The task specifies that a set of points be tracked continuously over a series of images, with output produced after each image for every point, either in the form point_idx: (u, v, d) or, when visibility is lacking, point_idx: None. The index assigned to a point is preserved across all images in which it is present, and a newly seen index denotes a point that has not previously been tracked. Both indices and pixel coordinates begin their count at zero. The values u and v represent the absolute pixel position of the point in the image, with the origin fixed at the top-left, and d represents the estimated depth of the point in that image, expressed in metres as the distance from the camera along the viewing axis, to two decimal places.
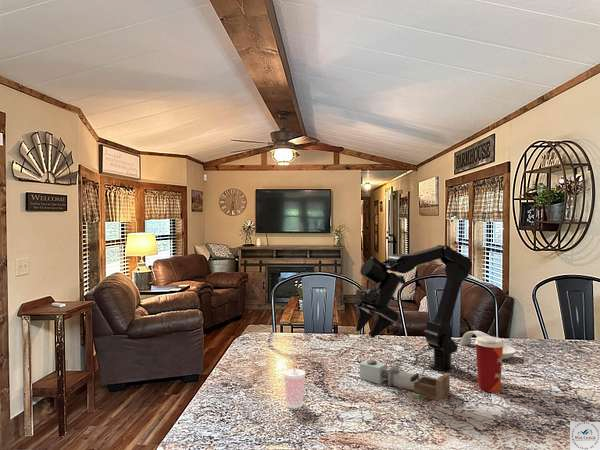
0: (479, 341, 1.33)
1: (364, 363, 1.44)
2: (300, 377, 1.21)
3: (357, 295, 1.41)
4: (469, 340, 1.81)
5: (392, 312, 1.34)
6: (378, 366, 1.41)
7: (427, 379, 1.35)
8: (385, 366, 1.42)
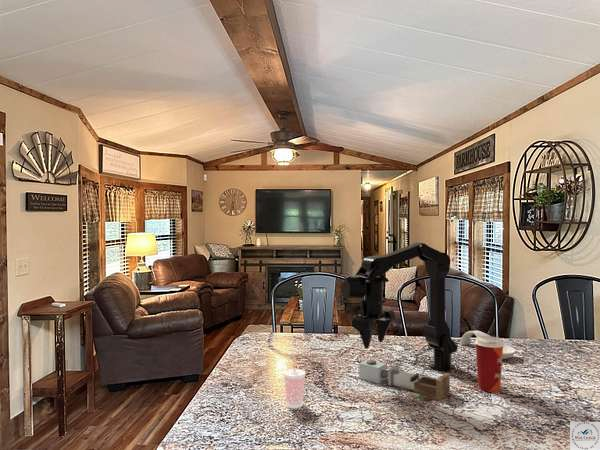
0: (479, 341, 1.33)
1: (363, 363, 1.44)
2: (300, 377, 1.21)
3: None
4: (469, 340, 1.81)
5: (358, 321, 1.36)
6: (377, 366, 1.41)
7: (427, 379, 1.35)
8: (384, 366, 1.42)
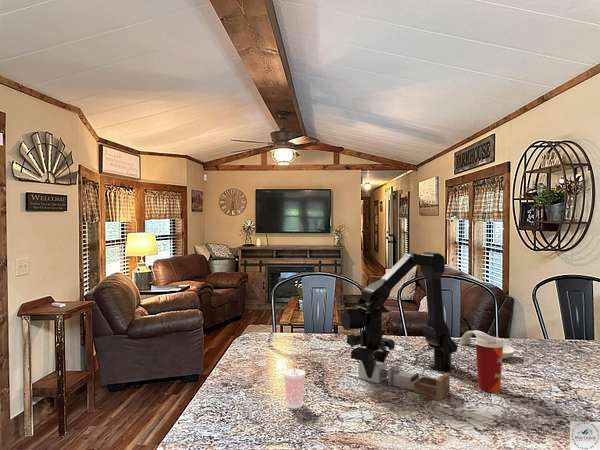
0: (479, 341, 1.33)
1: None
2: (300, 377, 1.21)
3: None
4: (469, 340, 1.81)
5: (358, 353, 1.36)
6: (377, 365, 1.41)
7: (427, 379, 1.35)
8: (384, 365, 1.43)
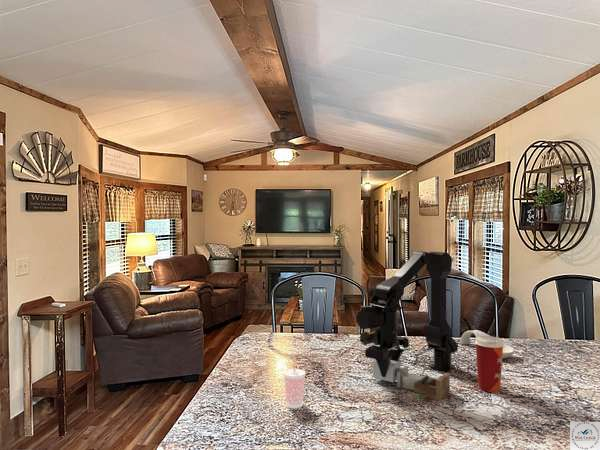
0: (479, 341, 1.33)
1: None
2: (300, 377, 1.21)
3: None
4: (468, 339, 1.82)
5: (372, 352, 1.33)
6: (392, 364, 1.38)
7: None
8: (399, 364, 1.40)
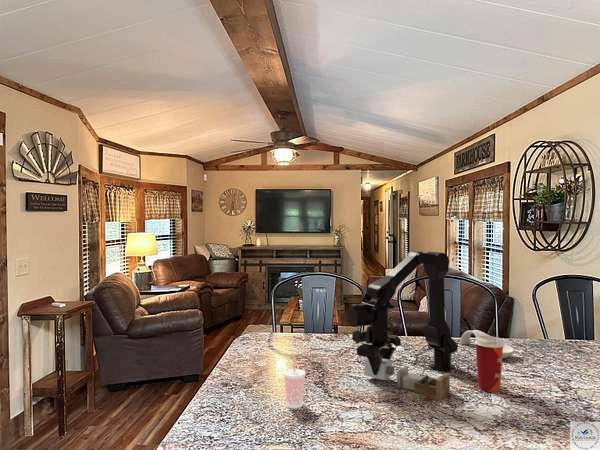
0: (479, 341, 1.33)
1: None
2: (300, 377, 1.21)
3: None
4: (468, 339, 1.82)
5: (364, 350, 1.35)
6: (383, 362, 1.39)
7: None
8: (390, 362, 1.41)
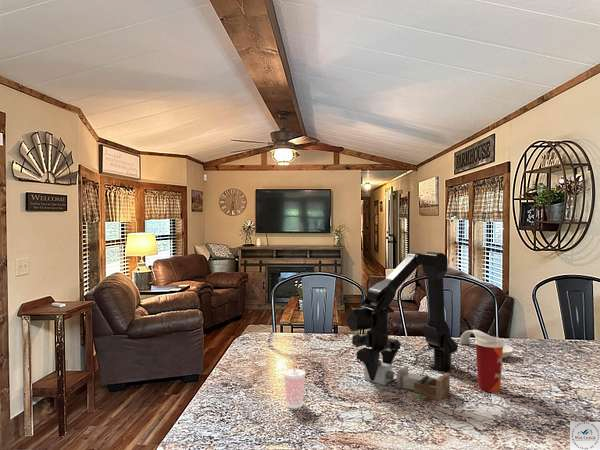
0: (479, 341, 1.33)
1: None
2: (300, 377, 1.21)
3: None
4: (468, 339, 1.82)
5: (363, 354, 1.35)
6: (383, 367, 1.40)
7: None
8: (390, 367, 1.41)
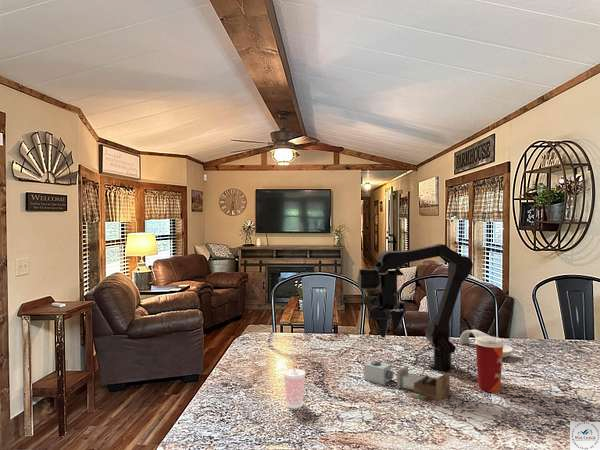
0: (479, 341, 1.33)
1: (368, 364, 1.43)
2: (300, 377, 1.21)
3: None
4: (467, 339, 1.82)
5: (376, 312, 1.45)
6: (382, 367, 1.40)
7: None
8: (389, 367, 1.42)
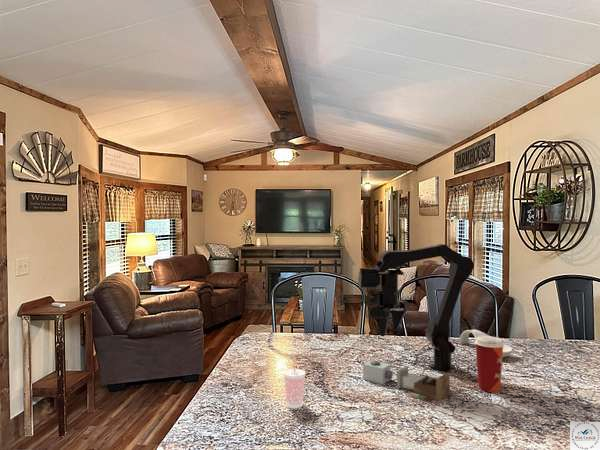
0: (479, 341, 1.33)
1: (367, 364, 1.43)
2: (300, 377, 1.21)
3: None
4: (467, 339, 1.83)
5: (375, 310, 1.45)
6: (382, 367, 1.40)
7: None
8: (389, 367, 1.42)
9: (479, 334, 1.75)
